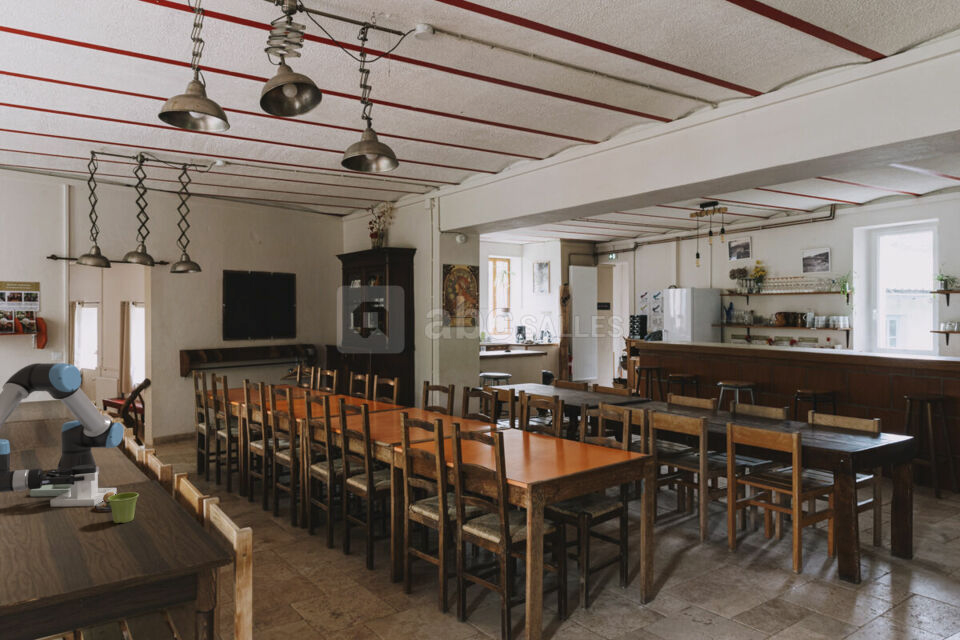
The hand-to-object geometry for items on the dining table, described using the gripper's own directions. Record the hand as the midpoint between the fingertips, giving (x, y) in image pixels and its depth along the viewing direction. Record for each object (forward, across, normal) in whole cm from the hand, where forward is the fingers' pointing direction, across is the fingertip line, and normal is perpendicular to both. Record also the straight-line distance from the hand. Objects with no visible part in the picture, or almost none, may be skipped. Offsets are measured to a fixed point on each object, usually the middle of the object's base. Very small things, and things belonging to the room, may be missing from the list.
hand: (96, 473), depth 245 cm
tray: (-4, 0, -10) cm, 11 cm away
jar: (-4, 0, -9) cm, 10 cm away
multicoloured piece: (+7, +15, -10) cm, 20 cm away
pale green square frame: (-15, -18, -10) cm, 26 cm away
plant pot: (+12, +35, -10) cm, 38 cm away
